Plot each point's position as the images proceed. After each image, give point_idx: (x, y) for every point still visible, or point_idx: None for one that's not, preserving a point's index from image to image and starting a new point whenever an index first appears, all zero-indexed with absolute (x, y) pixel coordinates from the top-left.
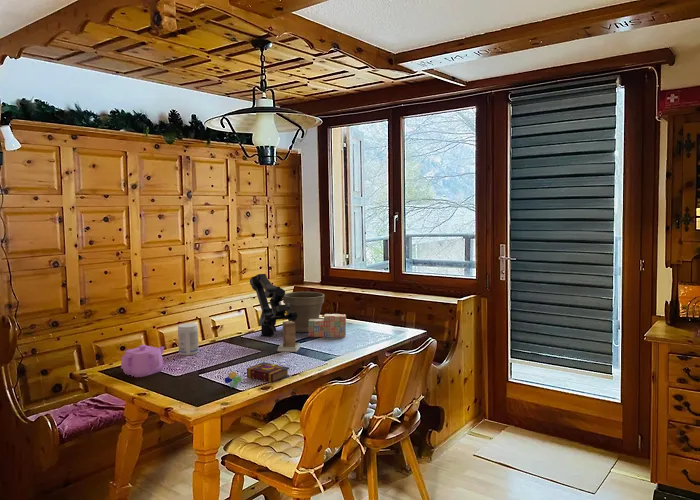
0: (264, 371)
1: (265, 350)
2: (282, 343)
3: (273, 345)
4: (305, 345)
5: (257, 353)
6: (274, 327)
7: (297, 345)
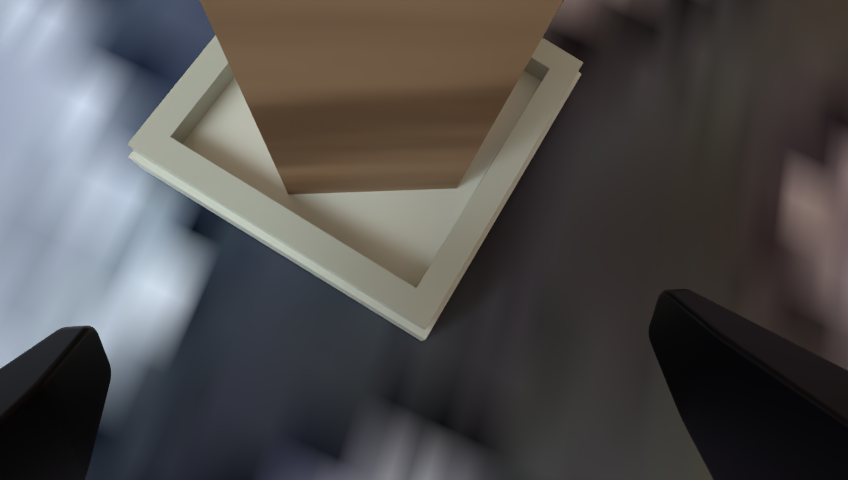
0: None
1: (720, 208)
2: (443, 262)
3: (544, 457)
4: (23, 211)
5: (842, 112)
6: (811, 366)
7: None
